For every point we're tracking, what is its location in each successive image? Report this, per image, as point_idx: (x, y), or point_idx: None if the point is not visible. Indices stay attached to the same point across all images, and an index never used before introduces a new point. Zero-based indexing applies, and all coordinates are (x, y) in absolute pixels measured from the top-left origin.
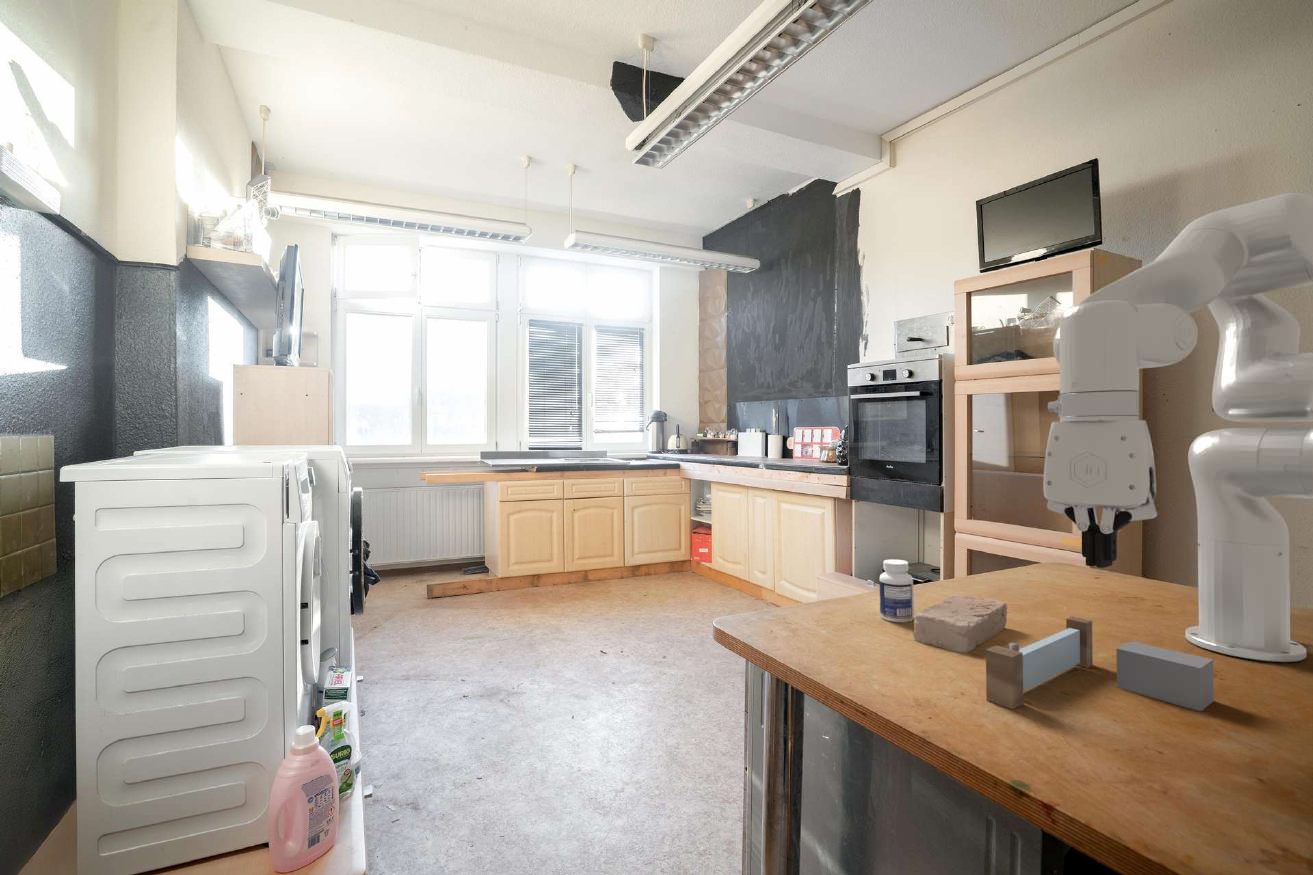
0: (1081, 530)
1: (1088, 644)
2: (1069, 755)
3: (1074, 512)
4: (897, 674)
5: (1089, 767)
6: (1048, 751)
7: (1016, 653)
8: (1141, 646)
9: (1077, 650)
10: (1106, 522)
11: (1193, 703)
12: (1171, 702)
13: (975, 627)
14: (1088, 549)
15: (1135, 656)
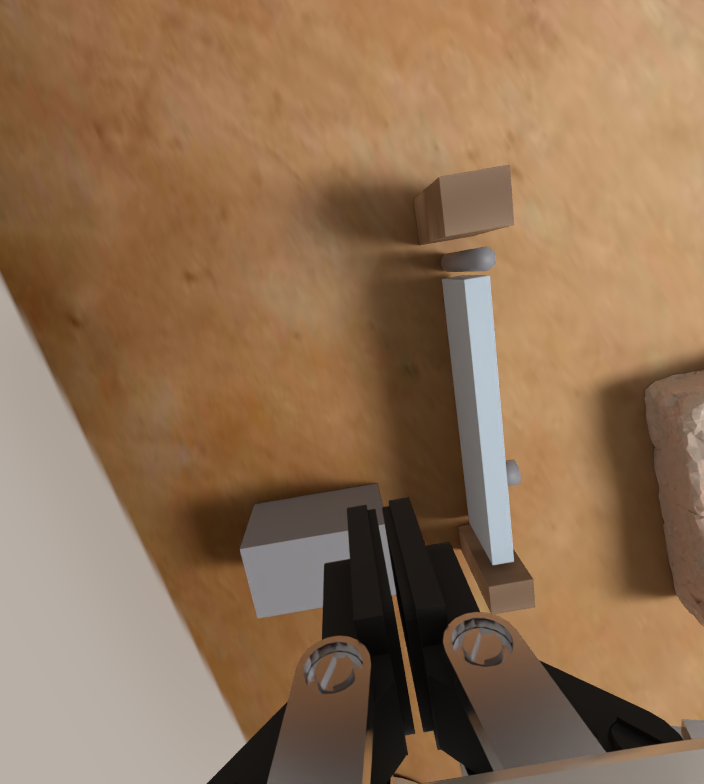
0: (476, 613)
1: (473, 562)
2: (243, 107)
3: (585, 726)
4: (663, 125)
5: (200, 95)
6: (269, 83)
7: (450, 216)
8: None
9: (476, 527)
10: (327, 707)
11: (262, 507)
12: (295, 497)
13: (681, 448)
14: (407, 537)
15: None
